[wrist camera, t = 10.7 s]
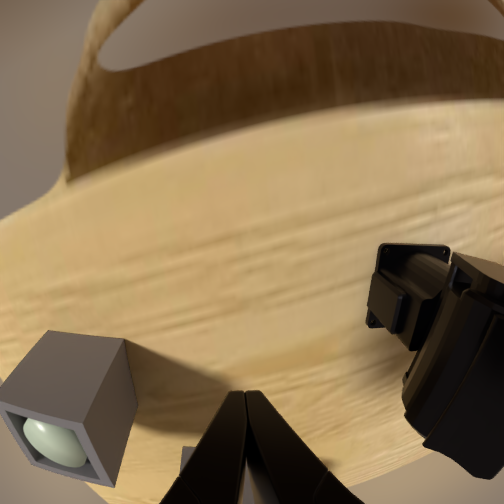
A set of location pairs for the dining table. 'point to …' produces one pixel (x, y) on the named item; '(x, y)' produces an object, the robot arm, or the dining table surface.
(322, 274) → the dining table surface
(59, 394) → the grey square socket
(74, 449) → the sage button
